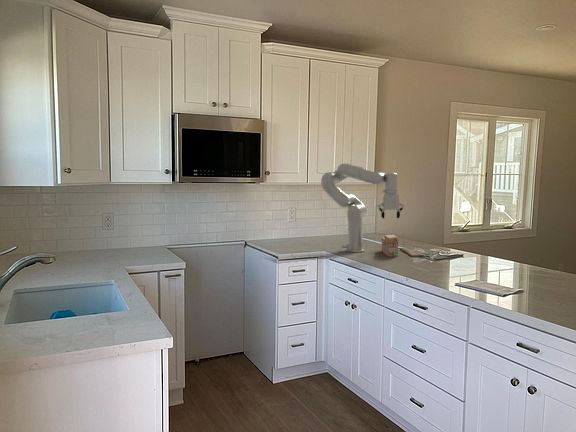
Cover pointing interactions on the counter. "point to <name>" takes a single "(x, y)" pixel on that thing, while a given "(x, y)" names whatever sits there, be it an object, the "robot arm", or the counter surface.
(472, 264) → the counter surface
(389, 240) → the cardboard product box
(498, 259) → the counter surface
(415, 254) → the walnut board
